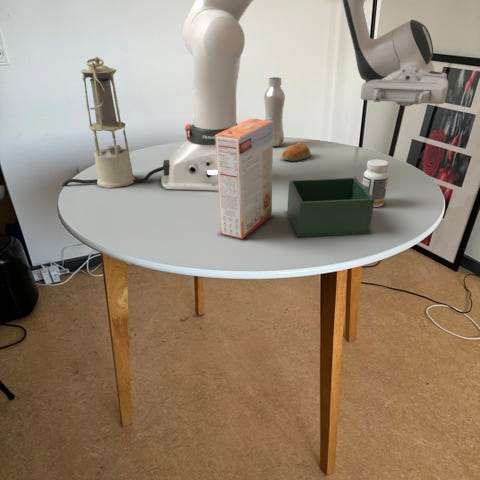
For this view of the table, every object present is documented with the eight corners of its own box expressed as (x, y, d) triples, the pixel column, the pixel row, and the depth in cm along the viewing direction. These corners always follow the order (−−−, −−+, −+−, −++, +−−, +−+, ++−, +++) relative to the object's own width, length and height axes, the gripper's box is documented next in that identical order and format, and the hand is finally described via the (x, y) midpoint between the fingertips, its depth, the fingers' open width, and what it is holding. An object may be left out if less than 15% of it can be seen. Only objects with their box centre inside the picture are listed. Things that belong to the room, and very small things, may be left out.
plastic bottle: (284, 148, 149) (287, 79, 138) (263, 148, 150) (264, 80, 138) (283, 142, 155) (285, 76, 143) (263, 142, 155) (264, 76, 143)
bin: (297, 237, 97) (300, 203, 93) (287, 212, 108) (288, 180, 103) (368, 233, 98) (374, 199, 94) (351, 209, 109) (355, 177, 104)
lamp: (137, 174, 130) (120, 53, 113) (130, 191, 120) (109, 61, 102) (101, 175, 130) (78, 54, 112) (90, 192, 120) (62, 61, 102)
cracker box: (249, 211, 108) (249, 117, 96) (272, 216, 106) (275, 120, 93) (218, 234, 99) (213, 132, 86) (242, 240, 96) (241, 136, 84)
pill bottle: (384, 200, 113) (391, 159, 107) (382, 209, 108) (390, 167, 103) (361, 197, 114) (367, 157, 108) (358, 206, 110) (364, 164, 104)
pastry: (294, 164, 136) (295, 150, 134) (276, 160, 140) (276, 147, 138) (311, 156, 142) (312, 143, 140) (293, 152, 146) (294, 140, 143)
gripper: (369, 71, 119) (354, 82, 110) (453, 73, 111) (445, 85, 102) (367, 97, 123) (352, 110, 114) (448, 101, 115) (439, 116, 106)
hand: (396, 99), depth 108 cm, fingers open, 8 cm apart
